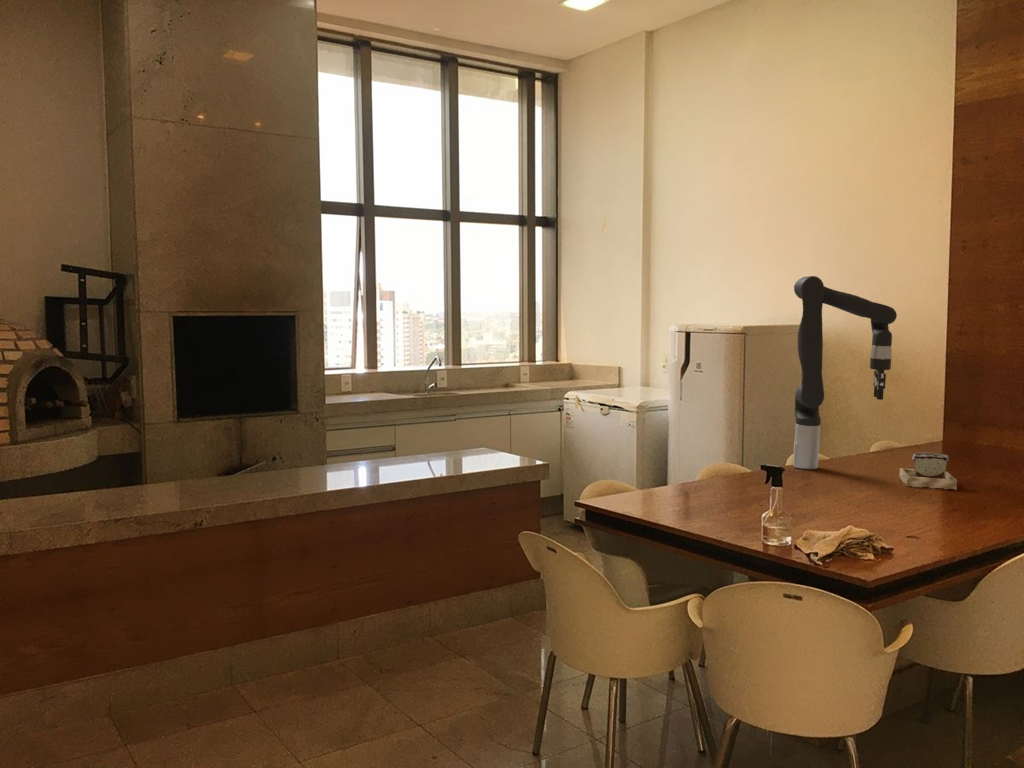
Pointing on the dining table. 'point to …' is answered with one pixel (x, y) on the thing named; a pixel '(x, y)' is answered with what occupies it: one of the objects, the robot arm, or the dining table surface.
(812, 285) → the robot arm
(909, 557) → the dining table surface
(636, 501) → the dining table surface
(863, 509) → the dining table surface
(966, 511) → the dining table surface
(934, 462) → the food container
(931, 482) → the whitewashed wooden tray
